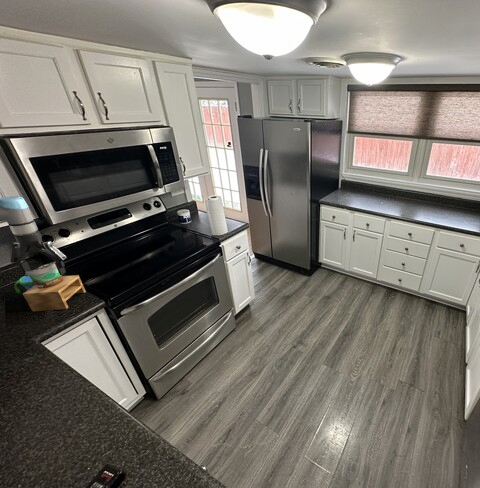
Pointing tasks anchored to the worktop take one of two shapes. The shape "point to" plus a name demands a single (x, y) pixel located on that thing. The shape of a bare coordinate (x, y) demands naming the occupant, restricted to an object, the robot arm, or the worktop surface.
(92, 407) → the worktop surface
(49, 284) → the food container
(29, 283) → the snack cup
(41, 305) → the shelf
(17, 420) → the worktop surface
